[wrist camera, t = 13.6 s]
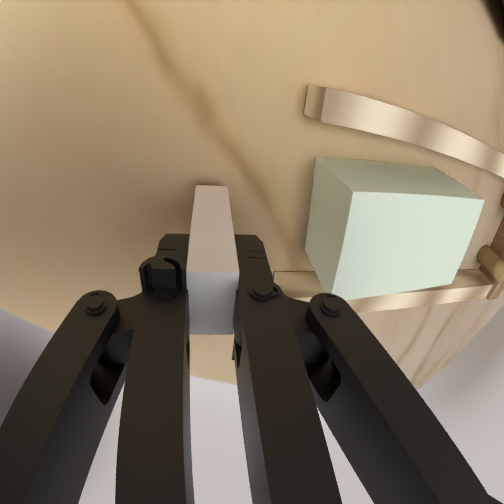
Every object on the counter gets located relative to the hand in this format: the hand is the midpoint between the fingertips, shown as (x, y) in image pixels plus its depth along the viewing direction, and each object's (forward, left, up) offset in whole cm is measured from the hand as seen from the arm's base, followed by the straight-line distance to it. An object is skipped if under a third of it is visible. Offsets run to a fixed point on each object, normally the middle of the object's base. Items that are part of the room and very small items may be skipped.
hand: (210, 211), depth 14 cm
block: (+10, 0, -2) cm, 10 cm away
